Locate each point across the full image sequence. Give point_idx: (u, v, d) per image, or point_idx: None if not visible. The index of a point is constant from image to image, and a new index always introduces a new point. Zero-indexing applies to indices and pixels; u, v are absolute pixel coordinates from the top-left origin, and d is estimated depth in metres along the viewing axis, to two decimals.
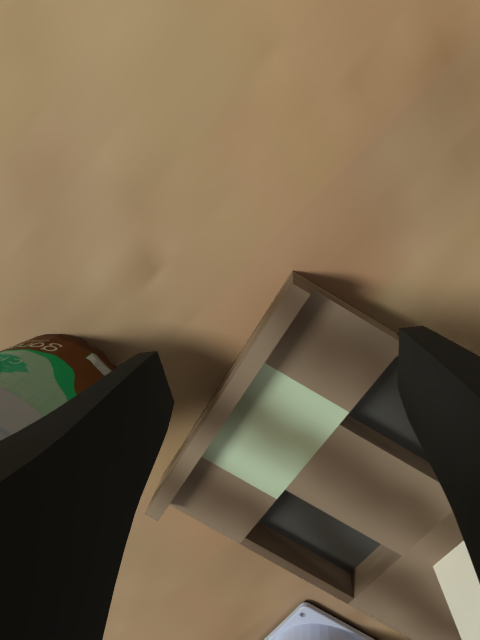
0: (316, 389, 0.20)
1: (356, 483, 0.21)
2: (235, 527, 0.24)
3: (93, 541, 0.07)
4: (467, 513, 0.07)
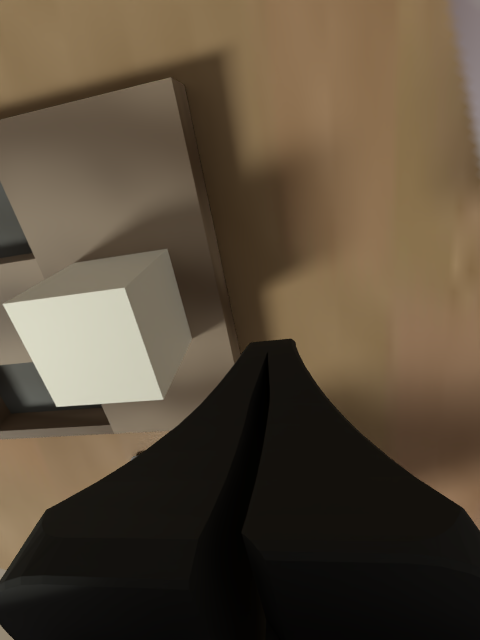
0: None
1: None
2: None
3: None
4: None
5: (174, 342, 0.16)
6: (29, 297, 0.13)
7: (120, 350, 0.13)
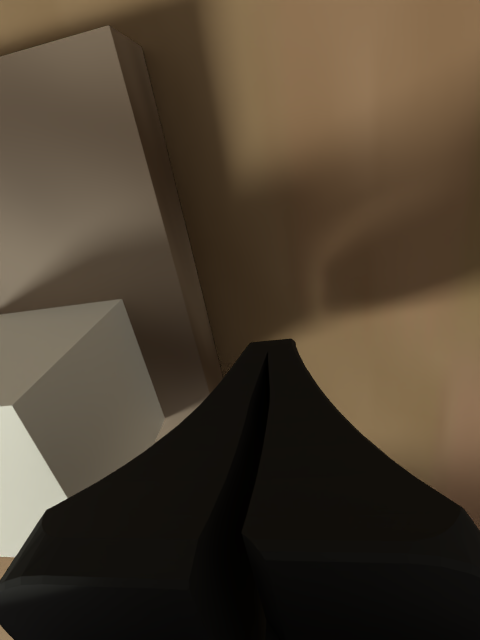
0: None
1: None
2: None
3: None
4: None
5: (131, 443, 0.11)
6: None
7: (23, 493, 0.08)
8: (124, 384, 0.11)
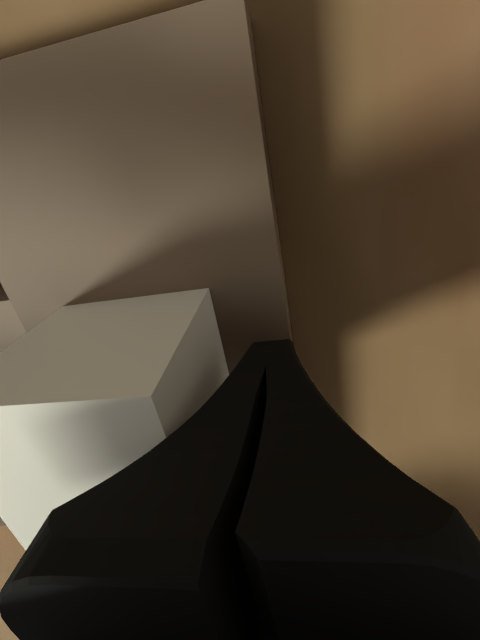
0: None
1: None
2: None
3: None
4: None
5: None
6: None
7: None
8: (214, 377, 0.10)
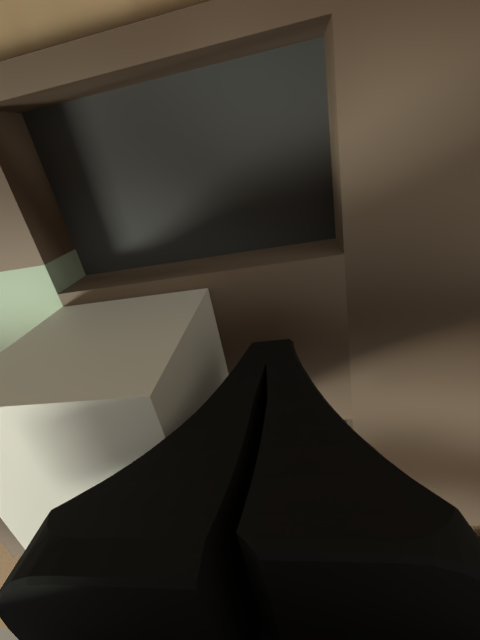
0: None
1: None
2: None
3: None
4: None
5: None
6: None
7: None
8: (214, 377, 0.10)
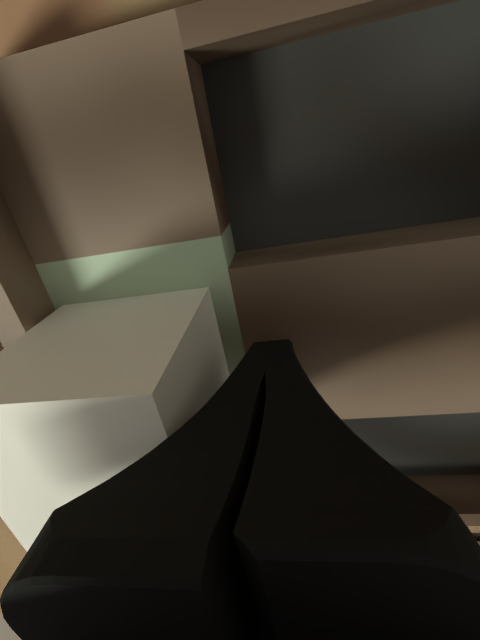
0: (140, 241, 0.10)
1: (346, 343, 0.11)
2: None
3: None
4: None
5: None
6: None
7: None
8: (214, 376, 0.10)
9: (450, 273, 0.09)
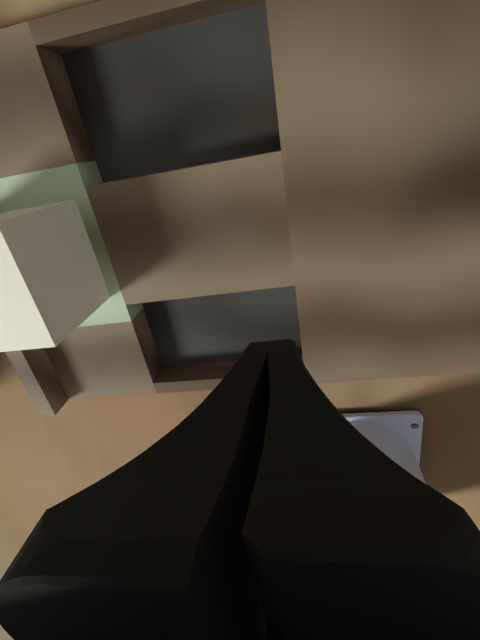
0: (27, 167, 0.16)
1: (167, 239, 0.16)
2: (135, 379, 0.21)
3: None
4: None
5: (79, 294, 0.16)
6: None
7: (4, 292, 0.13)
8: (75, 254, 0.16)
9: (216, 187, 0.15)
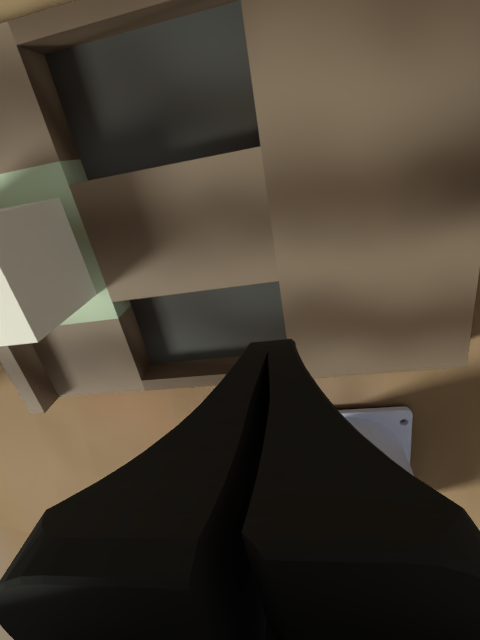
0: (12, 166, 0.16)
1: (151, 235, 0.17)
2: (124, 376, 0.21)
3: None
4: None
5: (63, 291, 0.16)
6: None
7: None
8: (59, 251, 0.16)
9: (198, 183, 0.15)
